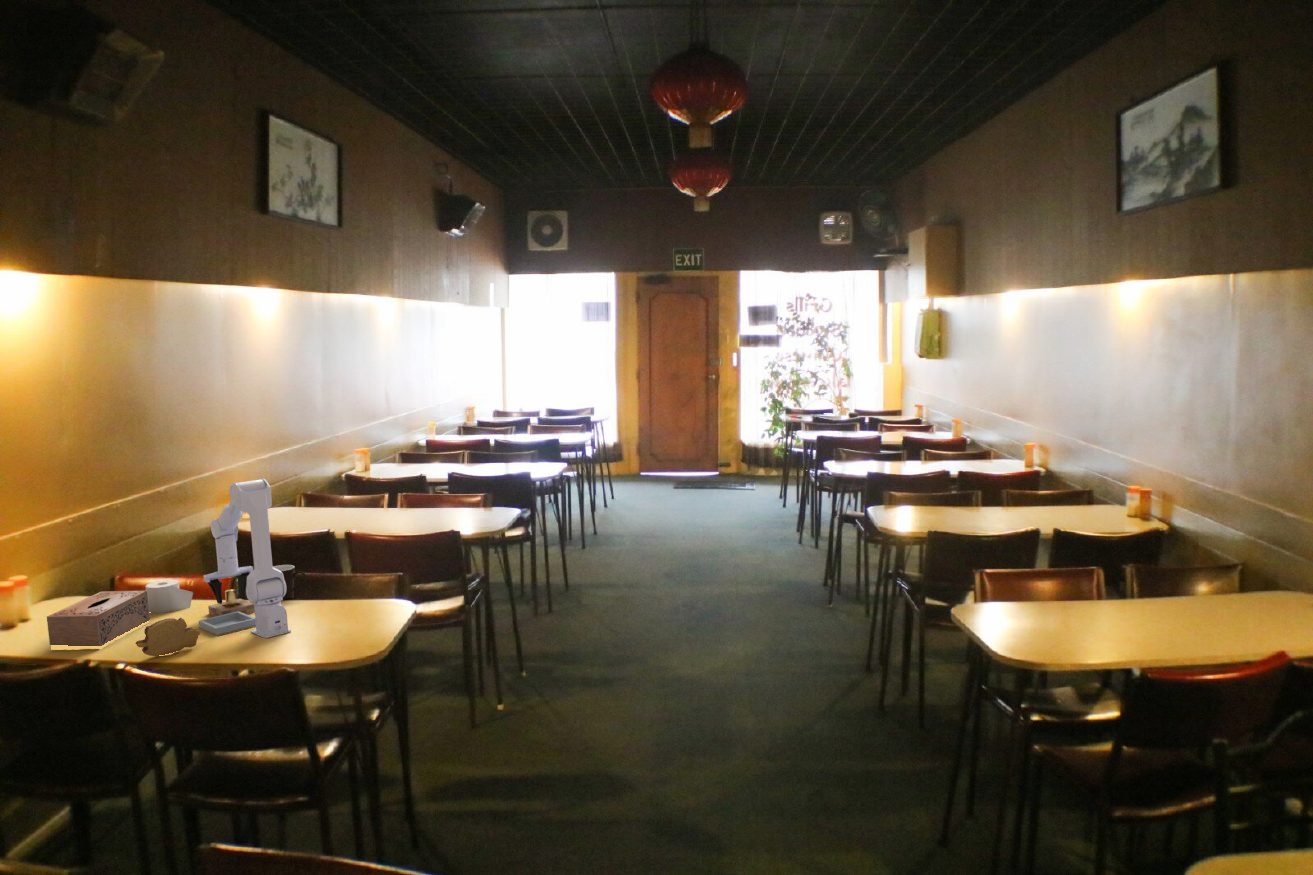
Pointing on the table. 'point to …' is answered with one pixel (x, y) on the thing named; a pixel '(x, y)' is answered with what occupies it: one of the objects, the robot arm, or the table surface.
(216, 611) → the socket block
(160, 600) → the toilet tissue
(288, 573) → the coffee mug
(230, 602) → the brass pin
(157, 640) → the wooden carving
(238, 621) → the tray
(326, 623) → the table surface
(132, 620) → the tissue box cover
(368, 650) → the table surface
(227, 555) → the robot arm
